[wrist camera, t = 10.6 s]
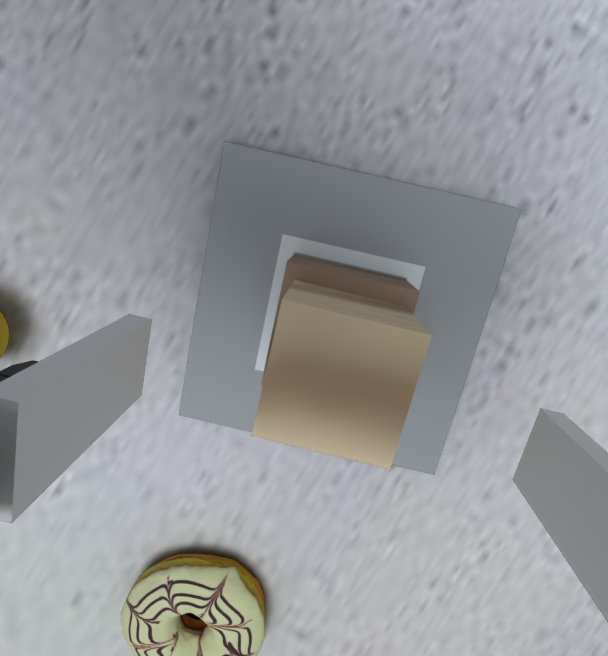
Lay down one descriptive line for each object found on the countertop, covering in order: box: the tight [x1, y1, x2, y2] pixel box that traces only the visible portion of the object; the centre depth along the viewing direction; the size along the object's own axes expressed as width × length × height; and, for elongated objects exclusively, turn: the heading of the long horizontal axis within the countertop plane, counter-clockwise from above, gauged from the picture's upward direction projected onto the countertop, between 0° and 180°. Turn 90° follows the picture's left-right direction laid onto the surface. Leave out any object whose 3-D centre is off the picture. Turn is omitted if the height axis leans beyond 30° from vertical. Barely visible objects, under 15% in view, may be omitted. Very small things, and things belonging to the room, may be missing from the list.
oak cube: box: [252, 280, 432, 469], centre depth 21 cm, size 6×6×6 cm
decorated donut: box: [121, 554, 265, 656], centre depth 35 cm, size 10×11×4 cm
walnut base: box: [261, 254, 420, 386], centre depth 27 cm, size 7×7×5 cm
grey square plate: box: [179, 141, 522, 475], centre depth 30 cm, size 18×18×1 cm
